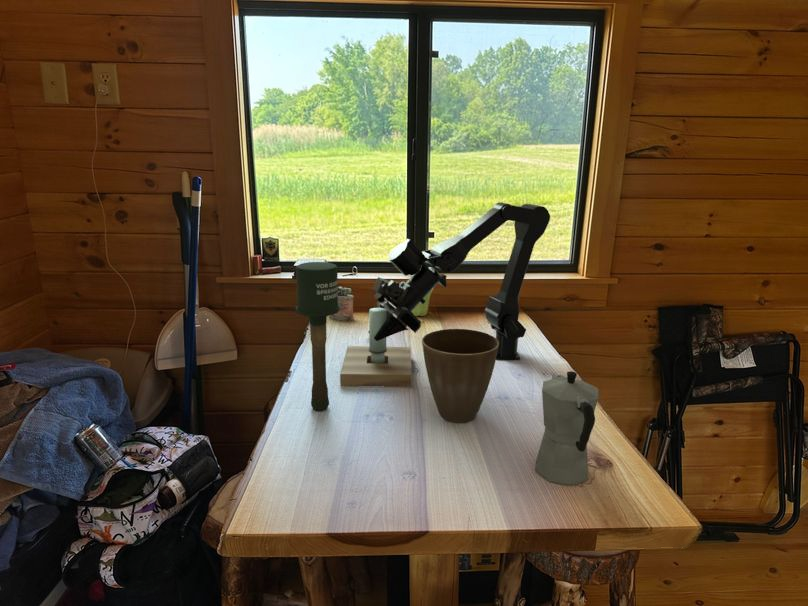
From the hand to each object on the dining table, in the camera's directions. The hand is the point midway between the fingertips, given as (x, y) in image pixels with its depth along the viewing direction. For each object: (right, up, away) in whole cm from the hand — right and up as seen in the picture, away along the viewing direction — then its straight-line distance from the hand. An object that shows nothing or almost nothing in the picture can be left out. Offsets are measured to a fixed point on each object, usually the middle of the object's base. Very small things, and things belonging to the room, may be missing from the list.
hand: (372, 336), depth 133 cm
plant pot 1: (+12, +4, +49) cm, 51 cm away
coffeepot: (+34, -21, -38) cm, 55 cm away
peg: (+1, -6, +2) cm, 7 cm away
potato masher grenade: (-10, -14, -16) cm, 24 cm away
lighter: (-12, +3, +43) cm, 45 cm away
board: (+1, -8, +3) cm, 9 cm away
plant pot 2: (+18, -15, -18) cm, 30 cm away
